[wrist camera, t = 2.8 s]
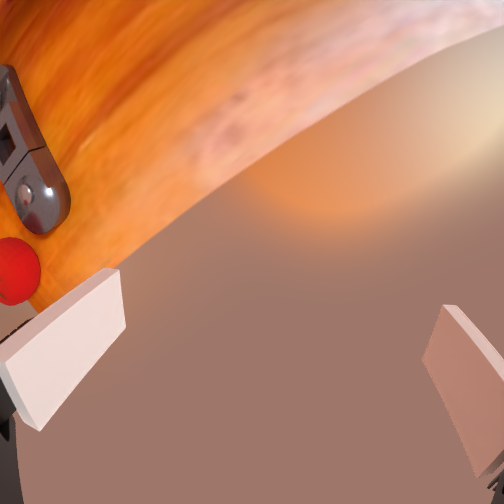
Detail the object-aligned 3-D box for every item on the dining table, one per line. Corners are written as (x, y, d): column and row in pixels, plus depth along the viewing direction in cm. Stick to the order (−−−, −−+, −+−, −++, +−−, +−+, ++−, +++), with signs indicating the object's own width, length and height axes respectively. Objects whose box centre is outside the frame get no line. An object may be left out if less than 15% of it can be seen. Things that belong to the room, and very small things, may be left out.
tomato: (24, 287, 47) (-7, 316, 37) (2, 233, 42) (-35, 258, 32) (59, 283, 44) (24, 318, 35) (34, 221, 40) (-9, 249, 30)
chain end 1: (-15, 90, 30) (-26, 91, 27) (9, 54, 27) (-2, 54, 25) (19, 177, 36) (8, 182, 34) (46, 145, 34) (35, 148, 31)
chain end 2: (1, 135, 33) (-19, 140, 29) (26, 100, 31) (5, 102, 26) (49, 233, 40) (32, 245, 36) (80, 207, 37) (60, 218, 33)
